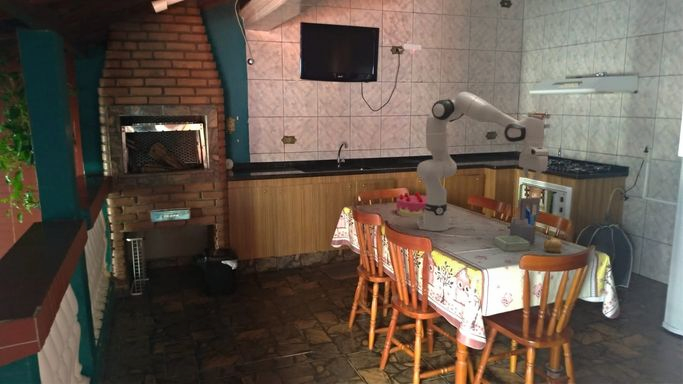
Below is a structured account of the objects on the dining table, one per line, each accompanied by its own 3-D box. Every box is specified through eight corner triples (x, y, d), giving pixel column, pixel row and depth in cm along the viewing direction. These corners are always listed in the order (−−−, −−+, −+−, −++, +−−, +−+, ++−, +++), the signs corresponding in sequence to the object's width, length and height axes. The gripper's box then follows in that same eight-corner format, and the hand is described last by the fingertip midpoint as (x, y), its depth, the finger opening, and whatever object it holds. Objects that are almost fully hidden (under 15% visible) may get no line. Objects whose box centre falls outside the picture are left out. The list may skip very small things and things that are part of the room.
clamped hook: (516, 224, 259) (518, 199, 257) (520, 224, 260) (521, 199, 257) (531, 231, 246) (532, 204, 243) (534, 231, 246) (536, 204, 244)
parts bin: (493, 244, 252) (494, 236, 252) (516, 243, 254) (516, 235, 254) (506, 251, 240) (506, 243, 239) (529, 250, 242) (530, 242, 241)
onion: (557, 249, 244) (558, 234, 243) (564, 253, 237) (566, 239, 235) (540, 249, 244) (541, 234, 243) (548, 254, 236) (548, 239, 235)
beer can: (513, 235, 270) (515, 205, 268) (525, 233, 274) (527, 204, 271) (525, 238, 263) (527, 208, 260) (537, 236, 266) (539, 206, 264)
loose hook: (519, 219, 249) (520, 198, 247) (536, 218, 251) (538, 197, 249) (521, 220, 247) (522, 198, 245) (538, 219, 249) (540, 198, 247)
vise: (507, 238, 264) (508, 216, 262) (521, 237, 265) (522, 216, 263) (520, 245, 250) (521, 222, 248) (535, 244, 252) (536, 222, 250)
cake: (394, 209, 339) (395, 190, 337) (437, 209, 338) (437, 190, 336) (397, 218, 312) (398, 198, 310) (443, 218, 311) (444, 198, 308)
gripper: (516, 148, 253) (514, 175, 255) (538, 151, 233) (536, 181, 235) (528, 148, 254) (526, 175, 256) (551, 151, 234) (549, 181, 236)
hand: (531, 178), depth 245 cm, fingers open, 8 cm apart
